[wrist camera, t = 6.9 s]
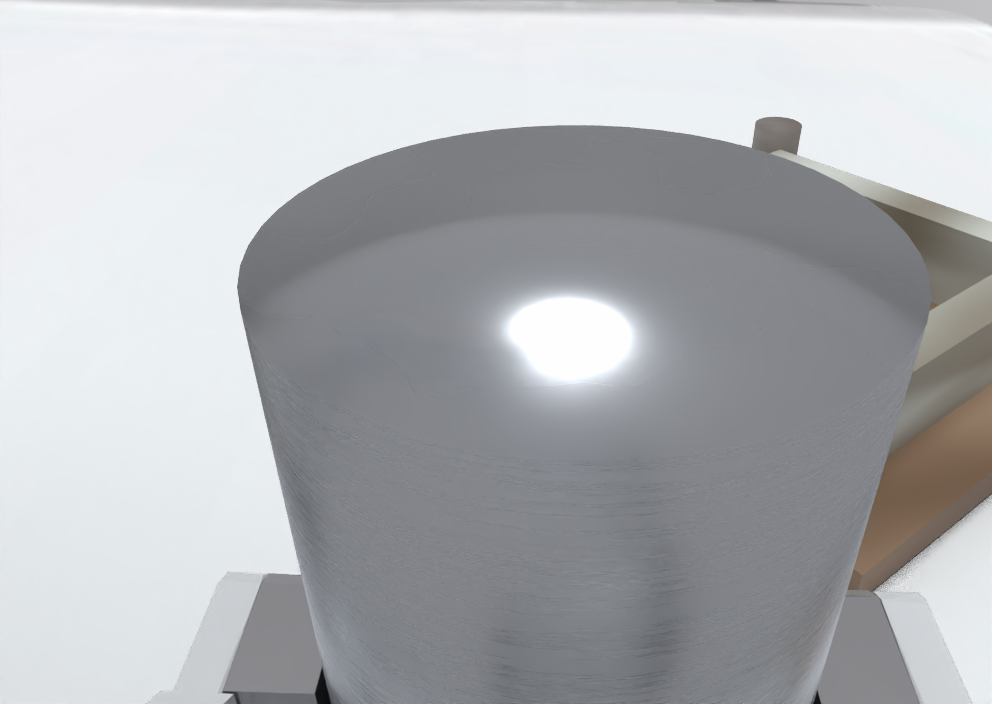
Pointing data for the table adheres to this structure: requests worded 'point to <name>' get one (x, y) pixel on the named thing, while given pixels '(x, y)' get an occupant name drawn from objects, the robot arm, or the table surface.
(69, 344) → the table surface
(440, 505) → the pin
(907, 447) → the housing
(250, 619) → the robot arm
